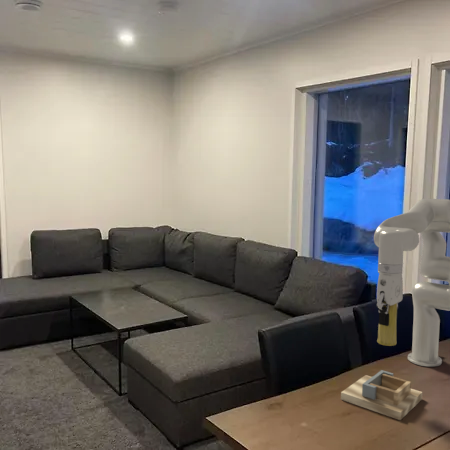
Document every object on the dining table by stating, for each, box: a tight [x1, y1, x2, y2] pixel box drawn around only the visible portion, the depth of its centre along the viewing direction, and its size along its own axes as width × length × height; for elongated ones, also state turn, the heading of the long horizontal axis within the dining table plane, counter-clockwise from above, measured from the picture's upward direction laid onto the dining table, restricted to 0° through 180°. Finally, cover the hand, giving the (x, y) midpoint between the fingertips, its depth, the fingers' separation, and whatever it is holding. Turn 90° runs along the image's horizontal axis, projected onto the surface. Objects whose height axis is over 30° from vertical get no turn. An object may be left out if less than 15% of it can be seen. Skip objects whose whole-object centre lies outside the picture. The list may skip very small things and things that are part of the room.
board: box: [340, 374, 423, 421], centre depth 160 cm, size 18×20×6 cm
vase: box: [376, 302, 398, 347], centre depth 159 cm, size 6×6×14 cm
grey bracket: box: [362, 369, 394, 400], centre depth 161 cm, size 14×4×4 cm, turn 138°
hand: (387, 322), depth 159 cm, fingers closed on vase, 5 cm apart
